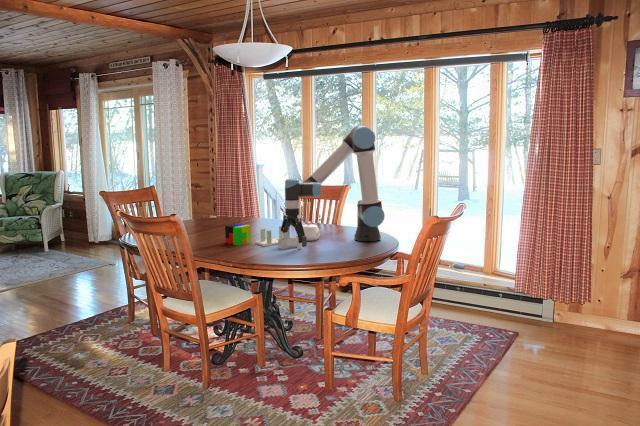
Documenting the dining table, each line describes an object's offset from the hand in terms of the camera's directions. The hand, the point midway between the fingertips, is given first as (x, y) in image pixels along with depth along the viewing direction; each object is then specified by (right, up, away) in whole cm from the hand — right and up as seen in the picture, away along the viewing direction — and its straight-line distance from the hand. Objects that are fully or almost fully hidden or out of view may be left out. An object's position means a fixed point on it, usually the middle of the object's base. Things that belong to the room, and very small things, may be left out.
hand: (292, 246), depth 283 cm
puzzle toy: (-31, +1, +11) cm, 33 cm away
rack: (-10, +2, +11) cm, 15 cm away
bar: (0, 0, 0) cm, 0 cm away
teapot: (+9, +3, +20) cm, 22 cm away
